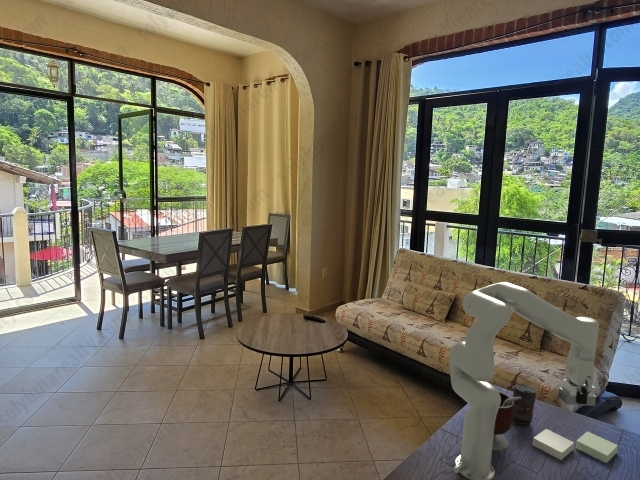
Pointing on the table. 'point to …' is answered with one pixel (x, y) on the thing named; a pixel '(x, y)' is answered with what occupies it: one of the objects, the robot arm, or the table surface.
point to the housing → (574, 393)
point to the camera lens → (523, 404)
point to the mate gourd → (503, 421)
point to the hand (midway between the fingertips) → (576, 398)
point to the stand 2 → (596, 446)
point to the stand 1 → (553, 444)
